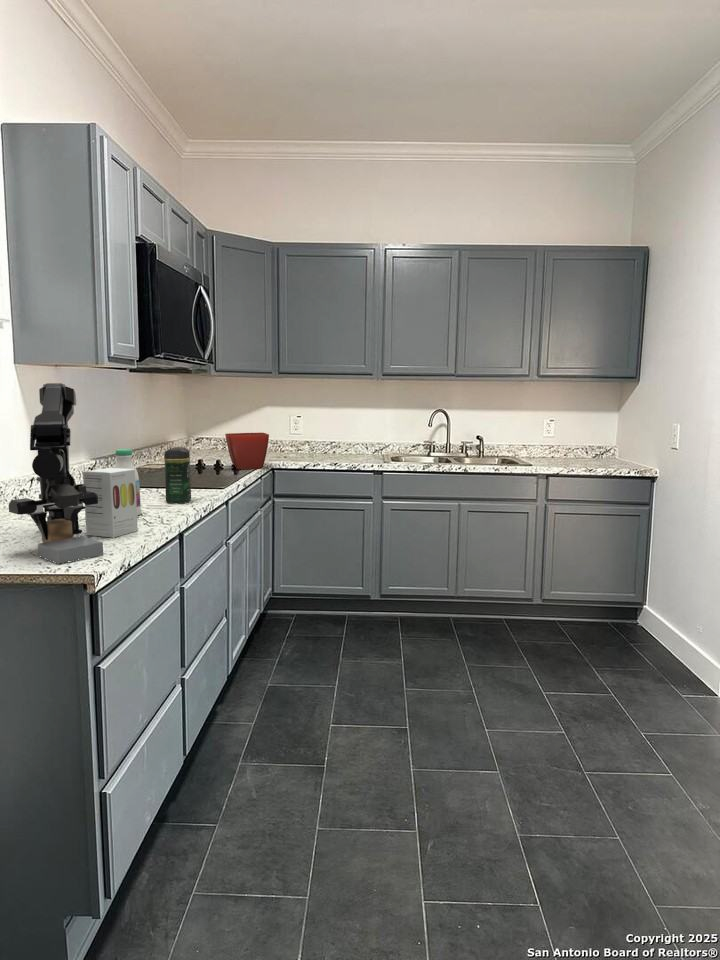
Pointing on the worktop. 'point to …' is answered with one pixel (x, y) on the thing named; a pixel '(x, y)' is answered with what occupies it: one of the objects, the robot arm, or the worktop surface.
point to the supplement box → (111, 502)
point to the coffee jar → (177, 475)
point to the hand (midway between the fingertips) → (57, 537)
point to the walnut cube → (58, 530)
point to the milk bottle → (126, 463)
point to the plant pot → (247, 449)
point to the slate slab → (70, 549)
